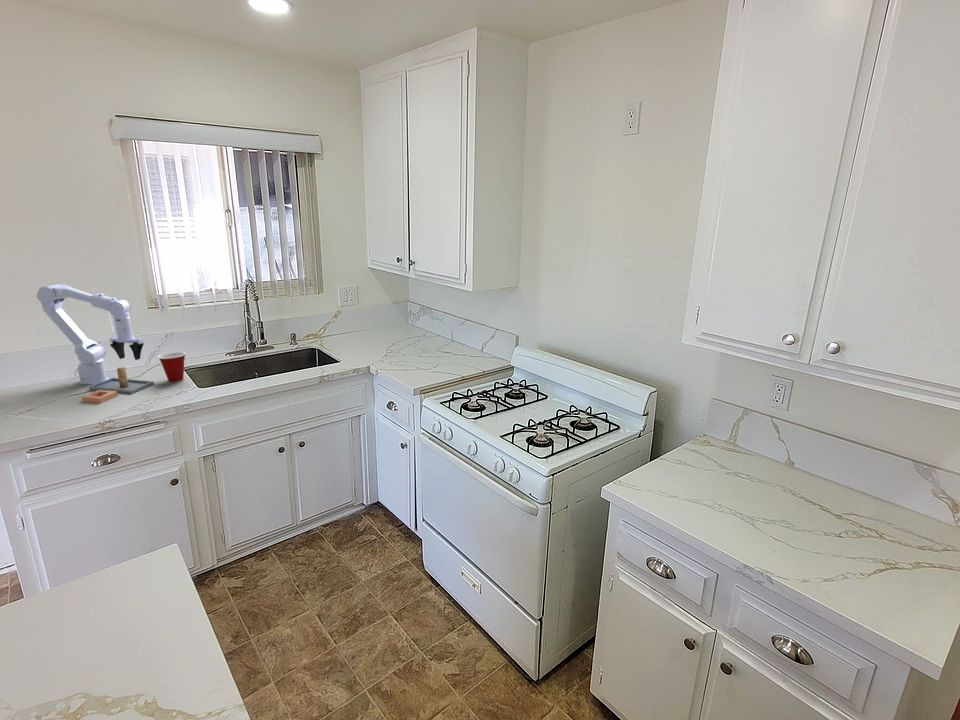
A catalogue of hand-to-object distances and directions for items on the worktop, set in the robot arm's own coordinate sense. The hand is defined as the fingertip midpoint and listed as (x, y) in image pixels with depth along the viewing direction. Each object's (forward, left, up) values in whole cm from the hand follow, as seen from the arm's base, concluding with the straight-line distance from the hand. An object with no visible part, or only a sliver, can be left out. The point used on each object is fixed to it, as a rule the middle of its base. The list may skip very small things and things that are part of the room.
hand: (130, 358), depth 227 cm
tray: (+2, -8, -10) cm, 13 cm away
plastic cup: (+16, +6, -11) cm, 20 cm away
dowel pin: (+3, -8, -10) cm, 13 cm away
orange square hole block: (+4, -21, -10) cm, 24 cm away
